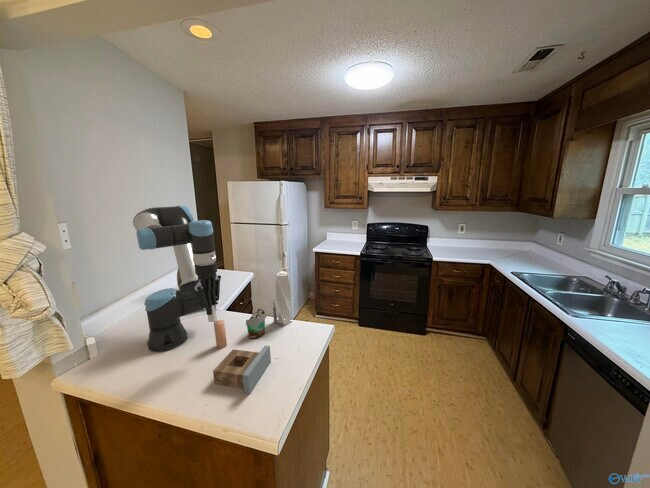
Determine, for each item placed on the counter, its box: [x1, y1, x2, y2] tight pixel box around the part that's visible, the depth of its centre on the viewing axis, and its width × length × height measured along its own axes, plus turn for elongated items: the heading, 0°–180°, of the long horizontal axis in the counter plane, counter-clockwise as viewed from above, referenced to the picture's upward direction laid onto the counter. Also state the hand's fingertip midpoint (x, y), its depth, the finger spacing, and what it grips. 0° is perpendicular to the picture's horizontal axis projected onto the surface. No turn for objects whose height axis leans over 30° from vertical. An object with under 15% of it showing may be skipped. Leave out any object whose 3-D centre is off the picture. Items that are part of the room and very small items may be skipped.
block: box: [212, 348, 260, 389], centre depth 92 cm, size 12×12×5 cm
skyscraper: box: [272, 266, 293, 327], centre depth 127 cm, size 8×8×28 cm
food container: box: [245, 308, 267, 340], centre depth 118 cm, size 12×6×10 cm, turn 168°
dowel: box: [213, 319, 228, 350], centre depth 108 cm, size 4×4×12 cm
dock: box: [242, 345, 272, 395], centre depth 92 cm, size 23×16×8 cm
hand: (212, 320), depth 100 cm, fingers closed
